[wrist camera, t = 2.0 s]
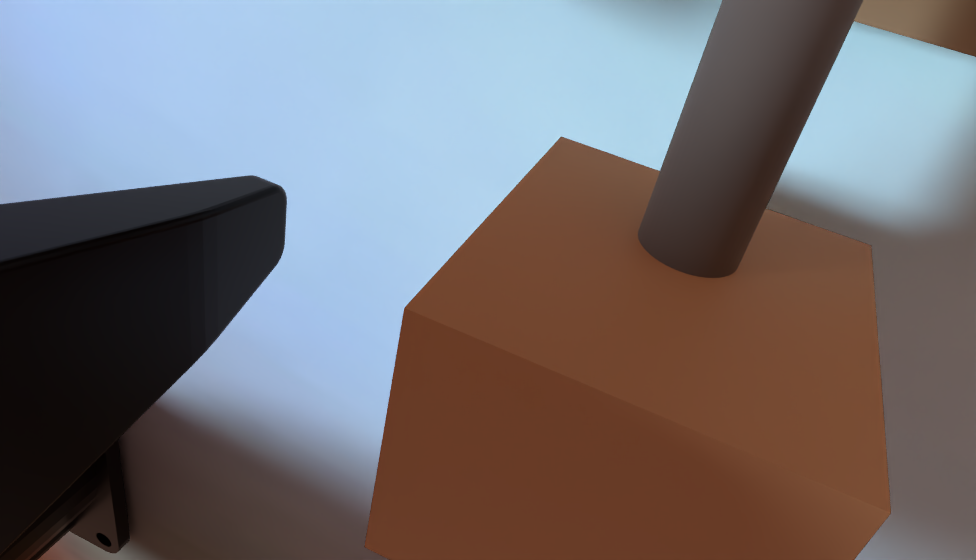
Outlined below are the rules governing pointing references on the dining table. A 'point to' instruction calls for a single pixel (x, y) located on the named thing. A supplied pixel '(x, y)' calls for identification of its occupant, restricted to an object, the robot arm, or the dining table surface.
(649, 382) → the tethered block
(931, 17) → the tray
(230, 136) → the dining table surface
